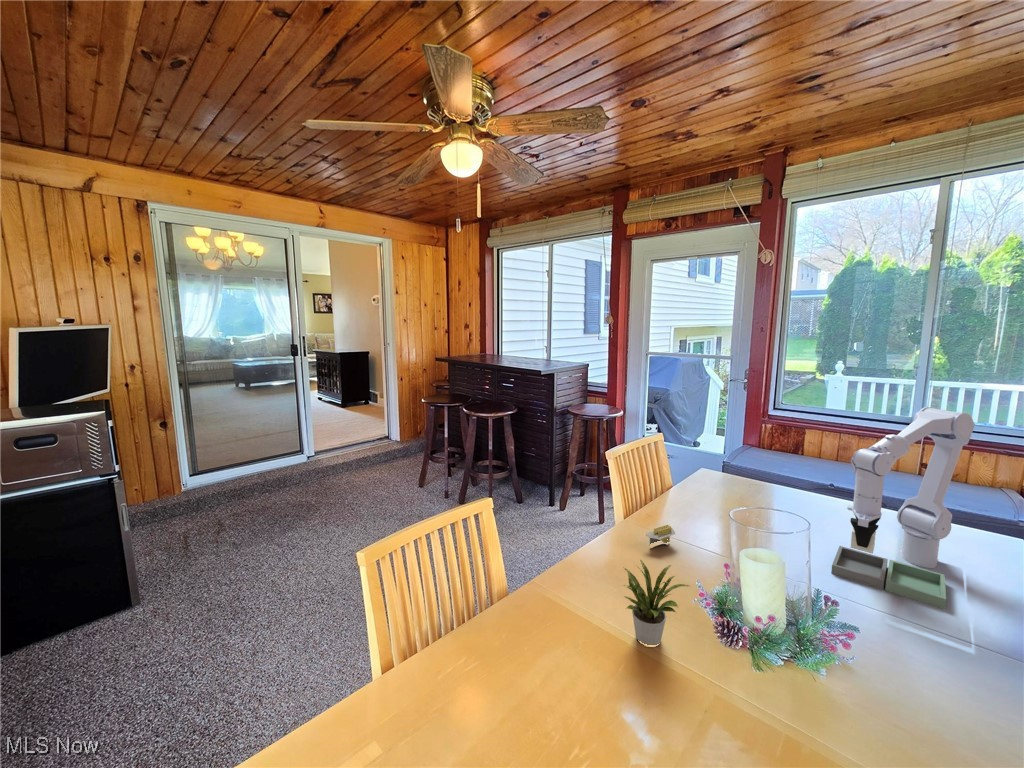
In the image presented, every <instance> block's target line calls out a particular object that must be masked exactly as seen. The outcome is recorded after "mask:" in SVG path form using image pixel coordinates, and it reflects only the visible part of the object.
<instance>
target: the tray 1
mask: <svg viewBox="0 0 1024 768" xmlns="http://www.w3.org/2000/svg"><path fill="white" fill-rule="evenodd" d="M888 561H889V559H888V558H886V557H882V556H878V555H874V554H872V553H869V552H865V551H861V550H857V549H854V548H849V547H845V546H841V545H839V546H838V549H837V551H836V554H835V556H834V559H833V561H832V564H831V574H832V575H835V576H839V577H841V578H845V579H848V580H851V581H854V582H857V583H860V584H864V585H866V586H867V585H868V586H871V587H873V588H875V589H879V590H884V587H885V586H884V585H885V583H886V577H887V571H888V563H889V562H888Z"/></svg>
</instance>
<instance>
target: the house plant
mask: <svg viewBox="0 0 1024 768" xmlns="http://www.w3.org/2000/svg"><path fill="white" fill-rule="evenodd" d="M639 560H640V564H641V567H642V569H643V570H642V569H641V568H640V567H639V566H637V565H636V567H637V568H638V569H639V570H640V572H641V573H642V574H643V575H642V576H643V577H644V580H645V586H646V592H645V590H644V588H643V587H642V586H641V584H640V581H639V580H638V579H637V577H636V576H635V575H634V574H633V573H632V572H631V571H630V570H629V569H627V568H625V567H624V566H623V569H624V571H626V573H627V576H628V579H627V580H628V585H626V584H624V585H622V586H623V587H626V588H628V589H629V590H631V592H632V593H633V596H634V597H635V598H634V599H633V598H632V597H629V596H626V595H625V596H623V597H624V598H625V599H627V600H629V601H630V602H631V603H633V604H634V605H633V604H629V605H628V606H627V607H626V609H628V610H631V613H632V619H633V626H634V632H635V633H634V634H635V638H636V637H637V639H638V640H639V641H641V642H642V643H644V644H647V645H657V644H659V643H660V642H662V637H663V633H664V629H665V624H666V618H667V614H666V612H674V613H677V612H676V610H675V609H674V608H673V607H675V608H676V607H677V608H679V606H678V604H677V602H676V601H675V600H672V599H671V600H667V601H665V602H663V603H662V604H660V603H661V601H662V600H663V599H665V598H667V597H668V596H669V595H670V596H671V595H674V594H673V593H670V592H671V591H673V590H675V589H677V588H681V587H690V585H689V584H685V583H678V584H673V585H672V586H670V583H671V581H672V579H673V578H675V577H676V576H675V575H673V576H670V577H668V579H667V580H666V581H663V579H664V578H665V575H666V574H667V572H668V570H669V569H670V568H671V567H672V564H669V565H667V566H666V567H664V568H663V569H662V570H661V572H660V573H659V575H658V576H657V578H656V581H655V585H654V587H652V577H651V575H650V571H649V569H648V567H647V566H646V564H645V563H644V562H643V560H642V559H639ZM662 581H663V582H662ZM662 584H663V586H662V587H661V585H662ZM668 586H670V587H669V588H667V587H668ZM646 593H647V594H646ZM669 593H670V594H669ZM635 599H636V600H635ZM659 605H660V606H659ZM637 639H636V640H637ZM660 644H661V643H660Z"/></svg>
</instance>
